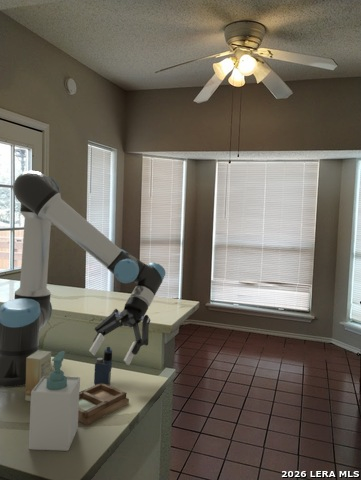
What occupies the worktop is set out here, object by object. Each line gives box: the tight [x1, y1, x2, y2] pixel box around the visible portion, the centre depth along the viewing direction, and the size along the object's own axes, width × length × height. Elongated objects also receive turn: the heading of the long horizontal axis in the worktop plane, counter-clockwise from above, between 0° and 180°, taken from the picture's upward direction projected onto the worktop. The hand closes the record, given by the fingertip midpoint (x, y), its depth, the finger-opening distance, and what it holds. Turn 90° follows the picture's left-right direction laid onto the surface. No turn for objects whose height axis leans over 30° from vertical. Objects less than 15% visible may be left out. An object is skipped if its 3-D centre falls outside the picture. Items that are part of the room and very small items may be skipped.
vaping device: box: [93, 346, 113, 386], centre depth 114 cm, size 3×5×12 cm, turn 78°
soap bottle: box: [28, 350, 81, 452], centre depth 85 cm, size 9×9×19 cm
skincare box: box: [24, 349, 52, 402], centre depth 105 cm, size 6×4×12 cm
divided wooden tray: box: [78, 383, 130, 426], centre depth 102 cm, size 12×15×3 cm
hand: (108, 357), depth 116 cm, fingers open, 13 cm apart
